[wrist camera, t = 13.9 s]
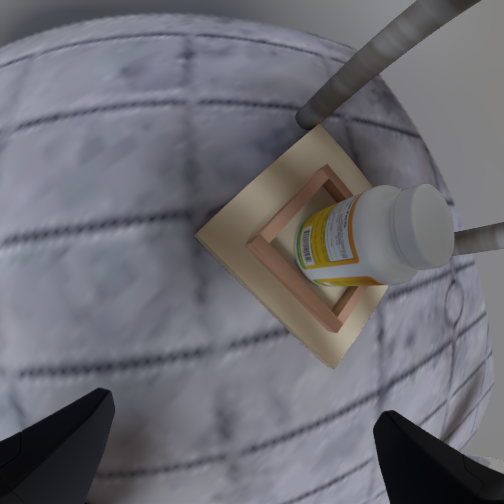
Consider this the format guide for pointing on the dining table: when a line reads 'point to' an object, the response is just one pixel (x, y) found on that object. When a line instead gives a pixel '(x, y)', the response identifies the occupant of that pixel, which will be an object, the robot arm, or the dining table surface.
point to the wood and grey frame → (321, 203)
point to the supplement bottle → (376, 237)
